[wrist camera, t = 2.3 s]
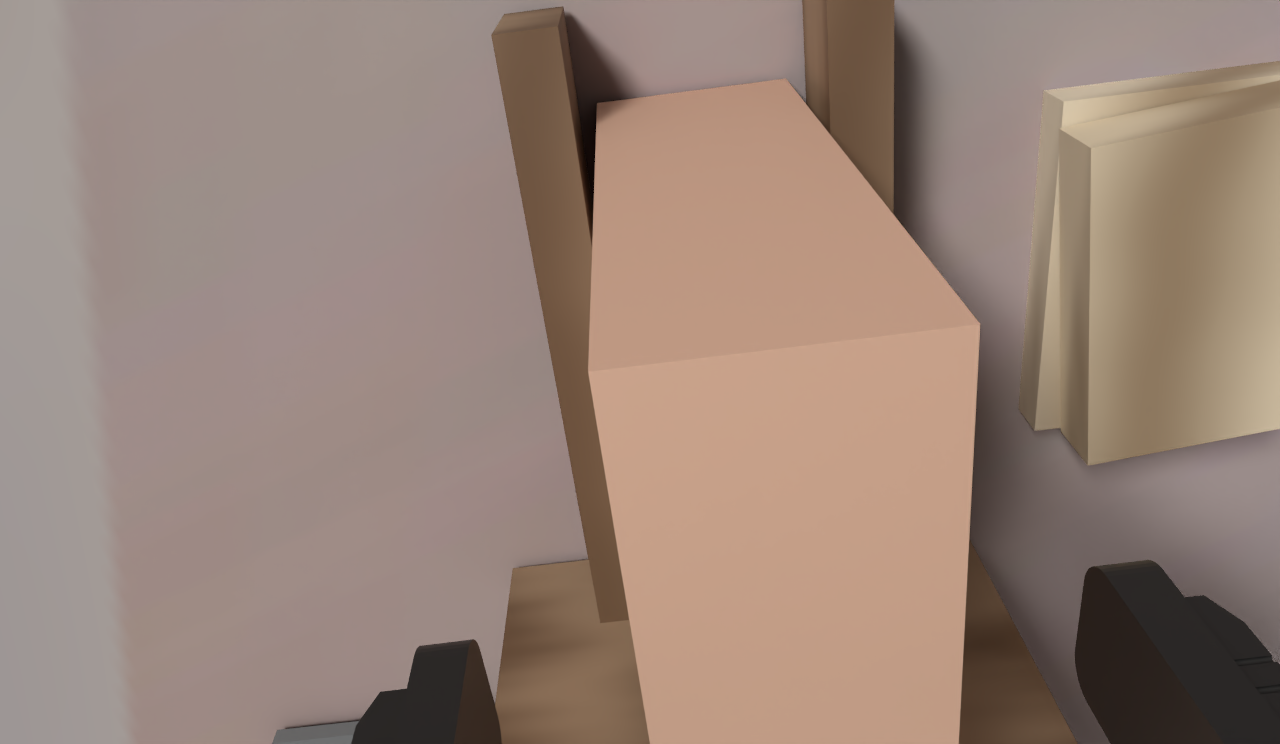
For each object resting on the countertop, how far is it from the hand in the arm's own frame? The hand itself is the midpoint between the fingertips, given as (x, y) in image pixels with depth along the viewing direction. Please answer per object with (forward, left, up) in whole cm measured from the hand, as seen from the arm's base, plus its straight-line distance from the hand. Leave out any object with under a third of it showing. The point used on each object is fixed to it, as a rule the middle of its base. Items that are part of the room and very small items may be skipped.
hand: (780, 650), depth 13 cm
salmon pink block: (0, 0, -11) cm, 11 cm away
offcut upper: (-10, 0, -10) cm, 15 cm away
